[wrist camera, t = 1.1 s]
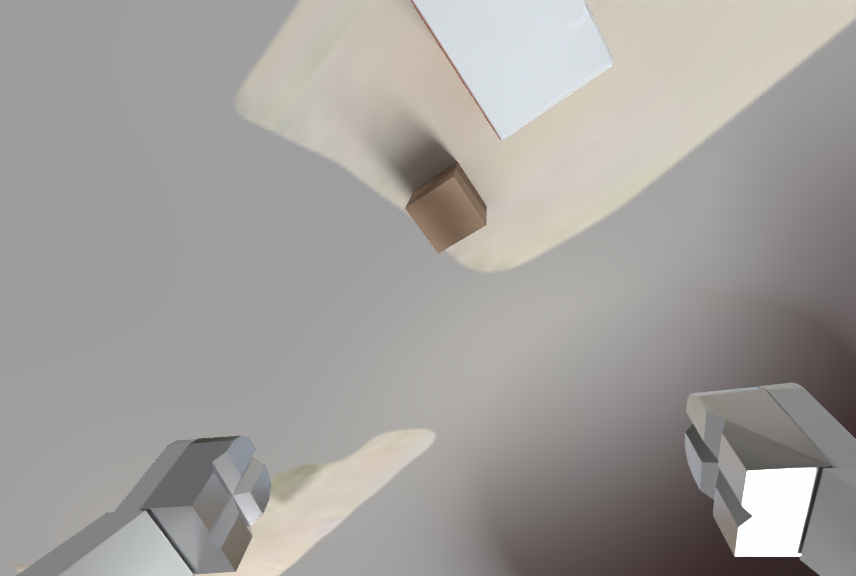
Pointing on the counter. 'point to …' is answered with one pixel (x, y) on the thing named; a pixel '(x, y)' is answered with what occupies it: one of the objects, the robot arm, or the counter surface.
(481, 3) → the small box
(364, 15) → the counter surface
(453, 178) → the walnut cube
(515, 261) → the counter surface
